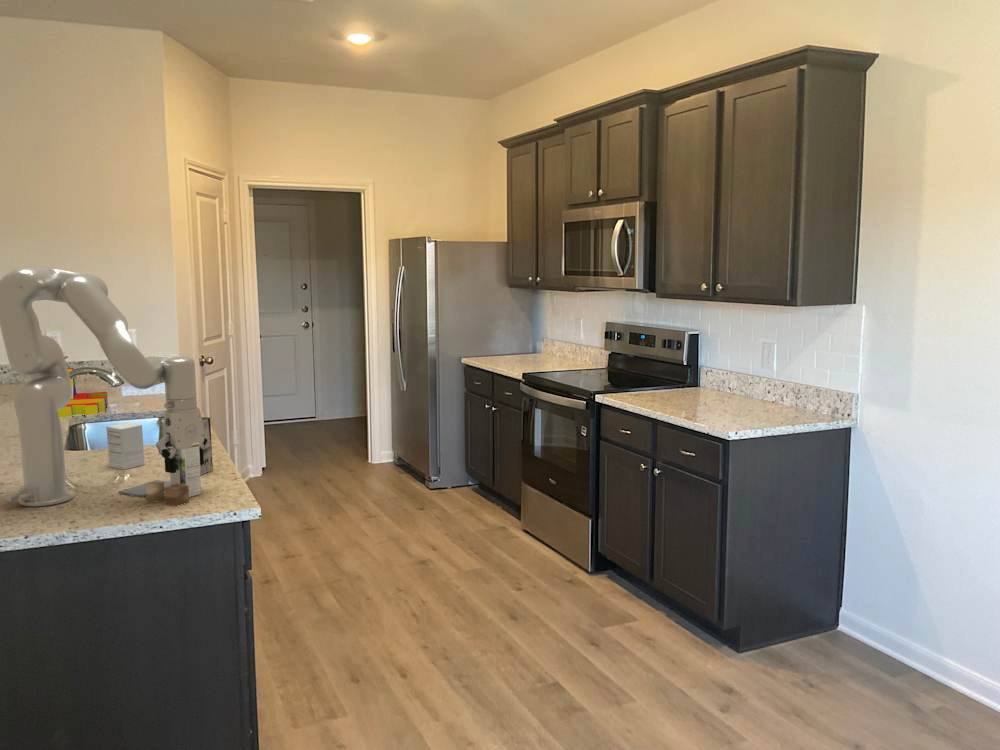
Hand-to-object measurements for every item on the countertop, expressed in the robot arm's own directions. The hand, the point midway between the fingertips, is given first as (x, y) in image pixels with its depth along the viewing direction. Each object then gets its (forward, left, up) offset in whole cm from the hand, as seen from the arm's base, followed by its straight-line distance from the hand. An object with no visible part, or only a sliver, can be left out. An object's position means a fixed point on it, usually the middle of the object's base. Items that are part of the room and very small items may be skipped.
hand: (184, 468), depth 215 cm
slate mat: (0, +13, -7) cm, 15 cm away
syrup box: (0, 0, -7) cm, 7 cm away
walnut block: (-7, -3, -7) cm, 10 cm away
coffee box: (+19, +17, -8) cm, 27 cm away
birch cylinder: (-7, +4, -7) cm, 11 cm away
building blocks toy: (+75, +133, -8) cm, 153 cm away
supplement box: (+16, +41, -8) cm, 44 cm away
